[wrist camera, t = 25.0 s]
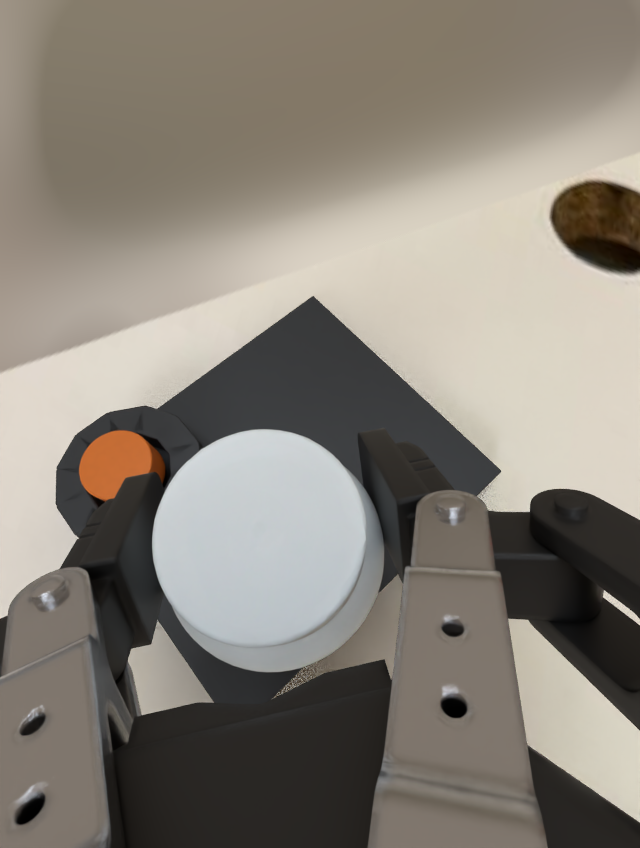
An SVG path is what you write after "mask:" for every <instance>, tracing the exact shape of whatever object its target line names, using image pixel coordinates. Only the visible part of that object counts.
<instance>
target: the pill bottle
mask: <svg viewBox="0 0 640 848" xmlns="http://www.w3.org/2000/svg"><path fill="white" fill-rule="evenodd" d="M152 553H153V562H154V566H155V570H156V574H157V577H158V580H159V583H160V585H161V588H162V590H163V592H164V594H165V595H166V597H167V599H168V601H169V603H170V604H171V605H172V608H173V610H174V612H175V614H176V616H177V618H178V619H179V621H180V623H181V624H182V626H183V627H184V629H185V630H186V631H187V632H188V634H189V635H190V636H191V637H192V638H193V639H194V640H195V641H196V642H197V643H198V644H199V645H200V646H201V647H202V648H204V649H205V650H206V651H208V652H209V653H210V654H212V655H213V656H215V657H216V658H218V659H220V660H222V661H224V662H226V663H228V664H231V665H233V666H236V667H239V668H243V669H247V670H252V671H257V672H282V671H289V670H294V669H299V668H302V667H305V666H308V665H310V664H313V663H315V662H317V661H319V660H321V659H323V658H325V657H327V656H328V655H330V654H332V653H333V652H335V651H336V650H337V649H338V648H340V647H341V646H342V645H343V644H344V643H346V642H347V641H348V640H349V639H350V638H351V637H352V636H353V634H354V633H355V632H356V631H357V630H358V629H359V627H360V626H361V625H362V623H363V622H364V621H365V619H366V617H367V616H368V614H369V612H370V611H371V609H372V607H373V604H374V602H375V600H376V597H377V595H378V592H379V588H380V584H381V581H382V575H383V568H384V540H383V533H382V528H381V524H380V520H379V517H378V514H377V511H376V508H375V506H374V504H373V502H372V500H371V498H370V496H369V495H368V493H367V491H366V490H365V488H364V487H363V486H362V485H361V483H360V482H359V481H358V479H357V478H356V477H355V476H354V475H353V474H352V473H351V472H350V471H349V470H348V469H347V468H345V467H344V466H343V465H342V464H341V463H340V461H339V460H338V459H337V458H335V456H334V455H333V454H331V453H330V452H329V451H328V450H326V449H325V448H324V447H322V446H321V445H319V444H317V443H316V442H314V441H312V440H310V439H309V438H306V437H303V436H301V435H298V434H295V433H291V432H286V431H281V430H270V429H258V430H249V431H243V432H239V433H235V434H232V435H229V436H226V437H224V438H221V439H219V440H217V441H215V442H213V443H211V444H210V445H208V446H206V447H205V448H203V449H201V450H200V451H199V452H198V453H196V454H195V455H194V456H193V457H192V458H191V459H189V460H188V461H187V462H186V463H185V464H184V465H183V466H182V467H181V468H180V469H179V470H178V472H177V473H176V475H175V476H174V477H173V479H172V480H171V482H170V483H169V485H168V487H167V489H166V491H165V493H164V495H163V497H162V499H161V502H160V504H159V507H158V510H157V513H156V516H155V520H154V526H153V535H152Z"/></svg>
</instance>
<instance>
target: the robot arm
mask: <svg viewBox="0 0 640 848" xmlns="http://www.w3.org/2000/svg"><path fill="white" fill-rule="evenodd" d="M358 447H359V455H360V463H361V471H362V479H363V486H364V488H365V490H366V491H367V493H368V495H369V496H370V498H371V500H372V502H373V504H374V506H375V508H376V511H377V514H378V517H379V520H380V524H381V528H382V533H383V540H384V542H385V544H386V547H387V549H388V551H389V553H390V556H391V558H392V560H393V563H394V565H395V567H396V570H397V572H398V574H399V576H400V579H401V581H402V583H403V591H402V600H401V608H400V617H399V626H398V635H397V643H396V652H395V661H394V670H393V679H392V680H391V679H390V675H389V672H388V669H387V666H386V663H385V659H384V660H379V661H375V662H371V663H366V664H362V665H358V666H354V667H349V668H345V669H341V670H336V671H332V672H328V673H324V674H322V675H320V676H318V677H316V678H314V679H312V680H310V681H308V682H306V683H304V684H302V685H300V686H298V687H296V688H294V689H292V690H290V691H288V692H286V693H284V694H282V695H280V696H278V697H276V698H274V699H272V700H270V701H267V702H265V703H261V704H233V703H194V704H189V705H185V706H181V707H177V708H172V709H168V710H164V711H159V712H155V713H151V714H146V715H141V710H140V705H139V701H138V696H137V691H136V686H135V682H134V677H133V672H132V670H131V667H130V665H129V663H128V661H127V660H128V657H129V654H130V650H131V649H132V648H136V647H141V646H145V645H150V644H151V643H152V639H153V635H154V631H155V627H156V623H157V619H158V615H159V611H160V607H161V603H162V599H163V595H164V592H163V590H162V588H161V585H160V583H159V580H158V577H157V574H156V570H155V566H154V562H153V553H152V535H153V526H154V520H155V516H156V513H157V510H158V507H159V504H160V502H161V499H162V497H163V495H164V493H165V490H164V487H163V484H162V481H161V479H160V477H159V475H158V474H157V473H156V472H151V473H146V474H141V475H136V476H131V477H126V478H125V479H124V481H123V483H122V485H121V487H120V489H119V490H118V492H117V494H116V496H115V498H113V499H108V500H107V501H106V502H104V503H103V504H102V505H101V506H100V507H99V508H98V509H96V510H95V511H94V512H93V513H92V515H91V517H90V519H89V520H88V522H87V524H86V525H85V526H86V528H84V529H83V530H82V532H81V534H80V535H79V539H77V541H76V542H75V544H74V546H73V547H72V549H71V551H70V552H69V554H68V556H67V557H66V559H65V561H64V563H63V564H62V566H61V568H60V569H59V570H56V571H53V572H50V573H48V574H46V575H44V576H42V577H40V578H38V579H36V580H35V581H33V582H32V583H30V584H29V585H28V586H26V587H25V588H24V589H23V590H22V591H20V592H19V593H18V595H17V596H16V597H15V598H14V599H13V601H12V602H11V604H10V607H9V610H8V616H6V617H4V618H1V619H0V848H640V822H638V821H637V820H635V819H634V818H632V817H631V816H629V815H628V814H626V813H625V812H624V811H622V810H621V809H619V808H618V807H616V806H615V805H613V804H612V803H611V802H609V801H608V800H606V799H605V798H603V797H602V796H600V795H599V794H598V793H596V792H595V791H593V790H592V789H590V788H589V787H587V786H586V785H584V784H583V783H582V782H580V781H579V780H577V779H576V778H574V777H573V776H571V775H570V774H569V773H567V772H566V771H564V770H563V769H561V768H560V767H558V766H557V765H556V764H554V763H553V762H551V761H550V760H548V759H547V758H545V757H544V756H543V755H541V754H540V753H538V752H537V751H535V750H534V749H532V748H531V747H529V746H528V745H527V741H526V734H525V728H524V721H523V715H522V708H521V701H520V695H519V688H518V682H517V675H516V669H515V662H514V656H513V649H512V642H511V636H510V629H509V623H508V618H509V619H526V620H529V622H530V623H531V624H532V625H533V626H534V628H535V629H536V630H537V631H539V632H540V633H541V634H542V635H543V636H544V637H545V638H546V639H547V640H548V641H549V642H550V643H551V644H552V645H553V646H554V647H555V648H556V649H557V650H558V651H559V652H560V653H561V654H562V655H563V656H564V657H565V658H566V659H567V660H568V661H569V662H570V663H571V664H572V665H573V666H574V667H575V668H576V669H577V670H578V671H579V672H580V673H582V674H583V675H584V676H585V677H586V678H587V679H588V680H589V681H590V682H591V683H592V684H593V685H594V686H595V687H596V688H597V689H598V690H599V691H600V692H601V693H602V694H603V695H604V696H605V697H606V698H607V699H608V700H609V701H610V702H611V703H612V704H613V705H614V706H615V707H616V708H617V709H618V710H619V711H620V712H621V713H622V714H624V715H625V716H626V717H627V718H628V719H629V720H630V721H631V722H632V723H633V724H634V725H635V726H636V727H637V728H638V729H639V730H640V625H639V624H637V623H636V622H635V621H633V620H632V619H631V618H629V617H628V616H627V615H625V614H624V613H623V612H621V611H620V610H619V609H617V608H616V607H615V606H614V605H612V604H611V603H610V602H608V601H607V600H606V599H604V598H603V592H604V590H605V591H606V592H608V593H609V594H610V595H612V596H613V597H614V598H616V599H617V600H618V601H620V602H621V603H622V604H624V605H625V606H626V607H628V608H629V609H630V610H632V611H633V612H634V613H635V614H636V615H637V616H638V617H639V618H640V520H638V519H637V518H635V517H633V516H631V515H629V514H627V513H626V512H624V511H622V510H620V509H618V508H616V507H614V506H613V505H611V504H609V503H607V502H605V501H603V500H602V499H600V498H598V497H596V496H594V495H591V494H588V493H585V492H582V491H577V490H571V489H552V490H547V491H543V492H541V493H539V494H537V495H536V496H534V497H533V499H532V500H531V504H530V512H494V511H488V510H487V507H486V505H485V503H484V502H483V501H482V500H481V499H480V498H478V497H477V496H475V495H473V494H470V493H467V492H463V491H457V490H455V489H454V488H453V487H452V486H451V484H450V483H449V482H448V481H447V479H446V478H445V477H444V476H443V474H442V473H441V472H440V471H439V470H438V468H437V467H435V465H434V463H433V462H432V461H431V460H430V459H429V457H428V456H427V455H426V453H425V452H424V451H423V450H422V449H421V448H420V447H418V446H416V445H414V444H412V443H410V442H408V441H405V442H400V443H395V442H394V440H393V439H392V437H391V436H390V435H389V433H388V432H387V430H386V429H385V428H381V429H375V430H370V431H365V432H360V433H358Z"/></svg>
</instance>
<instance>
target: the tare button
mask: <svg viewBox="0 0 640 848" xmlns="http://www.w3.org/2000/svg"><path fill="white" fill-rule="evenodd" d="M151 472H156V473H157V474H158V475H159V477H160V479H161V481H162V484H163V481H164V478H165V463H164V460H163V458H162V456H161V455H160V453H159V452H158V451H157V450H156V449H155V448H154V447H153V446H152V445H151V444H149V443H148V442H147V441H146V440H145V439H144V438H143V437H142V436H140V435H139V434H137V433H134V432H131V431H125V430H119V431H113V432H109V433H106V434H104V435H102V436H100V437H99V438H97V439H96V440H95V441H93V442H92V443H91V444H90V445H89V446H88V448H87V449H86V450H85V452H84V454H83V456H82V458H81V461H80V466H79V475H80V480H81V483H82V485H83V486H84V488H85V489H86V490H87V492H89V493H90V494H91V495H93V496H94V497H96V498H99V499H101V500H103V501H105V502H106V501H107V500H108V499H113V498H115V496H116V494H117V492H118V490H119V489H120V487H121V485H122V483H123V481H124V479H125V478H126V477H131V476H136V475H141V474H146V473H151Z"/></svg>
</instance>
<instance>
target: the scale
mask: <svg viewBox="0 0 640 848" xmlns="http://www.w3.org/2000/svg"><path fill="white" fill-rule="evenodd" d="M381 428H385V429H386V430H387V432H388V433H389V435H390V436H391V437H392V439H393V440H394V442H395V443H400V442H405V441H408V442H410V443H412V444H414V445H416V446H418V447H420V448H421V449H422V450H423V451H424V452H425V453H426V455H427V456H428V457H429V459H430V460H431V461H432V462H433V463H434V465H435V467H437V468H438V470H439V471H440V472H441V473H442V474H443V476H444V477H445V478H446V479H447V481H448V482H449V483H450V484H451V486H452V487H453V488H454V489H455V490H457V491H463V492H467V493H470V494H473V495H475V496H477V495H478V494H479V493H480V492H481V491H482V490H483V489H484V488H485V487H486V486H487V485H488V484H489V483H490V482H491V481H492V480H493V479H494V478H495V477H496V476H497V475H498V474H499V473H500V472H501V470H500V469H499V468H498V467H497V466H496V465H494V464H493V463H492V462H491V461H490V460H489V459H488V458H487V457H486V456H485V455H484V454H483V453H482V452H480V451H479V450H478V449H477V448H476V447H475V446H474V445H473V444H472V443H471V442H470V441H469V440H468V439H466V438H465V437H464V436H463V435H462V434H461V433H460V432H459V431H458V430H457V429H456V428H455V427H454V426H452V425H451V424H450V423H449V422H448V421H447V420H446V419H445V418H444V417H443V416H442V415H441V414H440V413H438V412H437V411H436V410H435V409H434V408H433V407H432V406H431V405H430V404H429V403H428V402H427V401H426V400H424V399H423V398H422V397H421V396H420V395H419V394H418V393H417V392H416V391H415V390H414V389H413V388H412V387H410V386H409V385H408V384H407V383H406V382H405V381H404V380H403V379H402V378H401V377H400V376H399V375H398V374H396V373H395V372H394V371H393V370H392V369H391V368H390V367H389V366H388V365H387V364H386V363H385V362H384V361H382V360H381V359H380V358H379V357H378V356H377V355H376V354H375V353H374V352H373V351H372V350H371V349H370V348H369V347H367V346H366V345H365V344H364V343H363V342H362V341H361V340H360V339H359V338H358V337H357V336H356V335H355V334H353V333H352V332H351V331H350V330H349V329H348V328H347V327H346V326H345V325H344V324H343V323H342V322H341V321H339V320H338V319H337V318H336V317H335V316H334V315H333V314H332V313H331V312H330V311H329V310H328V309H327V308H325V307H324V306H323V305H322V304H321V303H320V302H319V301H318V300H317V299H316V298H315V297H314V296H313V297H311V298H310V299H308V300H307V301H306V302H304V303H303V304H301V305H300V306H299V307H297V308H296V309H295V310H293V311H292V312H290V313H289V314H288V315H286V316H285V317H284V318H282V319H281V320H279V321H278V322H277V323H275V324H274V325H272V326H271V327H270V328H268V329H267V330H266V331H264V332H263V333H261V334H260V335H259V336H257V337H256V338H254V339H253V340H252V341H250V342H249V343H248V344H246V345H245V346H243V347H242V348H241V349H239V350H238V351H237V352H235V353H234V354H232V355H231V356H230V357H228V358H227V359H225V360H224V361H223V362H221V363H220V364H219V365H217V366H216V367H214V368H213V369H212V370H210V371H209V372H208V373H206V374H205V375H203V376H202V377H201V378H199V379H198V380H196V381H195V382H194V383H192V384H191V385H190V386H188V387H187V388H185V389H184V390H183V391H181V392H180V393H179V394H177V395H176V396H174V397H173V398H172V399H170V400H169V401H167V402H166V403H165V404H163V405H162V406H161V407H159V408H158V409H155V408H151V407H148V406H140V407H135V408H129V409H124V410H118V411H113V412H109V413H106V414H105V415H103V416H102V417H100V418H99V419H97V420H96V421H95V422H93V423H92V424H90V425H89V426H87V427H86V428H85V429H83V430H82V431H80V432H79V433H78V434H77V435H75V437H74V438H73V440H72V442H71V443H70V445H69V447H68V449H67V450H66V452H65V454H64V456H63V457H62V459H61V461H60V463H59V464H58V466H57V471H56V505H57V509H58V510H59V512H60V513H61V515H62V516H63V518H64V519H65V521H66V522H67V524H68V525H69V527H70V528H71V530H72V531H73V533H74V534H75V535H77V537H79V535H80V534H81V532H82V530H83V529H84V528H86V526H85V525H86V524H87V522H88V520H89V519H90V517H91V515H92V513H93V512H94V511H95V510H96V509H98V508H99V507H100V506H101V505H102V504H103V503H104V502H105V501H103V500H101V499H99V498H96V497H94V496H93V495H91V494H90V493H89V492H87V490H86V489H85V488H84V486H83V485H82V483H81V480H80V475H79V466H80V461H81V458H82V456H83V454H84V452H85V450H86V449H87V448H88V446H89V445H90V444H91V443H92V442H93V441H95V440H96V439H97V438H99V437H100V436H102V435H104V434H106V433H109V432H113V431H119V430H125V431H131V432H134V433H137V434H139V435H140V436H142V437H143V438H144V439H145V440H146V441H147V442H148V443H149V444H151V445H152V446H153V447H154V448H155V449H156V450H157V451H158V452H159V453H160V455H161V456H162V458H163V460H164V463H165V478H164V481H163V487H164V490H165V491H166V489H167V487H168V485H169V483H170V482H171V480H172V479H173V477H174V476H175V475H176V473H177V472H178V470H179V469H180V468H181V467H182V466H183V465H184V464H185V463H186V462H187V461H188V460H189V459H191V458H192V457H193V456H194V455H195V454H196V453H198V452H199V451H200V450H201V449H203V448H205V447H206V446H208V445H210V444H211V443H213V442H215V441H217V440H219V439H221V438H224V437H226V436H229V435H232V434H235V433H239V432H243V431H249V430H258V429H270V430H281V431H286V432H291V433H295V434H298V435H301V436H303V437H306V438H309V439H310V440H312V441H314V442H316V443H317V444H319V445H321V446H322V447H324V448H325V449H326V450H328V451H329V452H330V453H331V454H333V455H334V456H335V458H337V459H338V460H339V461H340V463H341V464H342V465H343V466H344V467H345V468H347V469H348V470H349V471H350V472H351V473H352V474H353V475H354V476H355V477H356V478H357V479H358V481H359V482H360V483H361V485H362V486H363V479H362V471H361V463H360V455H359V447H358V433H360V432H365V431H370V430H375V429H381ZM363 487H364V486H363ZM397 574H398V572H397V570H396V567H395V565H394V563H393V560H392V558H391V556H390V553H389V551H388V549H387V547H386V544H385V542H384V568H383V575H382V581H381V584H380V588H379V592H380V591H381V590H382V589H383V588H384V587H385V586H386V585H387V584H388V583H389V582H390V581H391V580H392V579H393V578H394V577H395V576H396V575H397ZM379 592H378V593H379ZM158 621H159V622H160V624H161V625H162V627H163V628H164V630H165V631H166V633H167V634H168V636H169V637H170V638H171V640H172V641H173V643H174V644H175V646H176V647H177V649H178V650H179V652H180V653H181V655H182V656H183V657H184V659H185V660H186V662H187V663H188V665H189V666H190V668H191V669H192V671H193V672H194V674H195V675H196V677H197V678H198V679H199V681H200V682H201V684H202V685H203V687H204V688H205V690H206V691H207V693H208V694H209V696H210V697H211V698H212V700H213V701H214V703H233V704H261V703H265V702H267V701H270V700H271V699H272V698H273V697H274V696H275V695H276V694H277V693H278V692H279V691H280V690H281V689H282V688H283V687H284V686H285V685H286V684H287V683H288V682H289V681H290V680H291V679H292V678H293V677H294V676H295V675H296V674H297V673H298V672H299V671H300V670H301V669H302V668H303V667H302V668H299V669H294V670H289V671H282V672H257V671H252V670H247V669H243V668H239V667H236V666H233V665H231V664H228V663H226V662H224V661H222V660H220V659H218V658H216V657H215V656H213V655H212V654H210V653H209V652H208V651H206V650H205V649H204V648H202V647H201V646H200V645H199V644H198V643H197V642H196V641H195V640H194V639H193V638H192V637H191V636H190V635H189V634H188V632H187V631H186V630H185V629H184V627H183V626H182V624H181V623H180V621H179V619H178V618H177V616H176V614H175V612H174V610H173V608H172V605H171V604H170V603H169V601H168V599H167V597H166V595H165V594H164V595H163V599H162V603H161V607H160V611H159V615H158Z"/></svg>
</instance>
